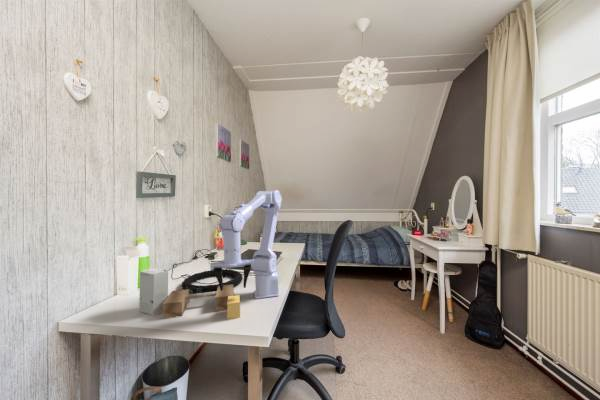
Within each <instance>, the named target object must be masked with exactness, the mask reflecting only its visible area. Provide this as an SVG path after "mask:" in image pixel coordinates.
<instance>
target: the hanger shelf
mask: <svg viewBox="0 0 600 400" xmlns="http://www.w3.org/2000/svg"><path fill="white" fill-rule="evenodd" d="M234 289H235V288H233V284H231V285H223V290H222V291H221V290H220V286H218V288H217V291H214V292H206V293H197V294H189V289H186V290H183V289H178V290H172V291H171V292H170V293H169V294H168V297H167V299H166V300H165V301H164V303H163V304H162V306H163V311H162V319H163V318H164V319H169V318H170V317H171V318H176V316H179V317H182V316H183V315H184V313H185V311H186V309H187V307H188V305H189V303H190V300H192V299H199V298H200V299H201V298H206V297H207V298H208V297H215V298H214V301H215V302H214V305H215V306H214V307H215V312H222V311H227V302H228V296H235V294H234V293H235V291H234ZM171 318H170V319H171Z"/></svg>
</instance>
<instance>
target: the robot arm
mask: <svg viewBox="0 0 600 400" xmlns="http://www.w3.org/2000/svg"><path fill="white" fill-rule="evenodd" d="M282 201H283V197H282V195H281V192H280V191H279V189H278V190H277V189H276V190H275V189H274V190H263V191H262V190H259V191H258V192H256V193H255V196H253V198H252V199H251V200H250V201H249V202H248V203H240V204H239V205H238V207H236V209H235V210H232V211H231V212H230V214H225V215H223V216H222V217H221V219H220V220H219V223H218V228H219V229H220V231H221V235H222V237H223V260H222V261H217V262H211V263H210V268H209V269H210V270H214V275H215V278H216V280H217V282H218V284H219V285H220V290H221V291H222V290H223V283H224V282H223V276H222V269H230V268H231V269H232V268H240V267H241V268H242V267H243V289H245V288H246V287H247V282H248V279H249V275H250V273H251V271H253V274H254V278H255V280H254V281H255V290H254V291H253V292H254V297H255V298H254V299H257V300H258V299H264V298H265V299H266V298H273V297H279V296H280V295H279V276H278V272H277V271H276V270H277V267H278V266H277V263H278V262H277V254H276V253H275V252H274V251H273V247H274V246H273V245H274V242H275V241H274V239H275V234H276V230H277V229H276V228H277V222H278V217H279V211H280V210H281V207H282V206H281V205H282ZM259 207H260V208H261V210H262V211H263V212H265V217H264V218H265V219H264V223H263V229H262V234H261V240H260V245H259V249H257V250H255V251H254V252H253V256H252V259H242V249H241V247H242V246H241V242H242V241H241V231H242V230H243V228H244V227H245V226H244V225H245V224H246V222H247V221H249V219H250V218H251V217H253V215H254V211H255V210H257V209H258V208H259ZM210 270H209V271H210Z"/></svg>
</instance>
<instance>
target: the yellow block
mask: <svg viewBox="0 0 600 400" xmlns="http://www.w3.org/2000/svg"><path fill="white" fill-rule="evenodd" d="M240 296H241V295H240V294H236V295H235V294H234V296H228V302H227V310H226V311H227V320H234V319H239V318H241V299H240Z"/></svg>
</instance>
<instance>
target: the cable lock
mask: <svg viewBox="0 0 600 400" xmlns="http://www.w3.org/2000/svg"><path fill="white" fill-rule="evenodd" d="M223 275H226V276H225V277H230V278H233V279H230V280H228V281H226V282H223V285H231V284H233V289H235V288H236V287H237V286H239V285H240V284H241V283H242V281H243V280H244V275H243V274H242V273H241V272H240V271H238V270H233V269H228V268H222V277H224V276H223ZM213 277H215V278H216V276H215V275H214V270H205V271H200V272H197V273H195V274H192V275H190V276H189V275H188V277H187V278H185V279H184V280H183V281H182V282H181V290H186V289H189V294H197V293H206V292H214V291H217V288H218V286H220V285H219V283H217V284H208V285H206V284H205V285H197V284H193V283H195V282H197V280H198V281H200V280H202V279H208V278H209V279H210V278H213Z"/></svg>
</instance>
